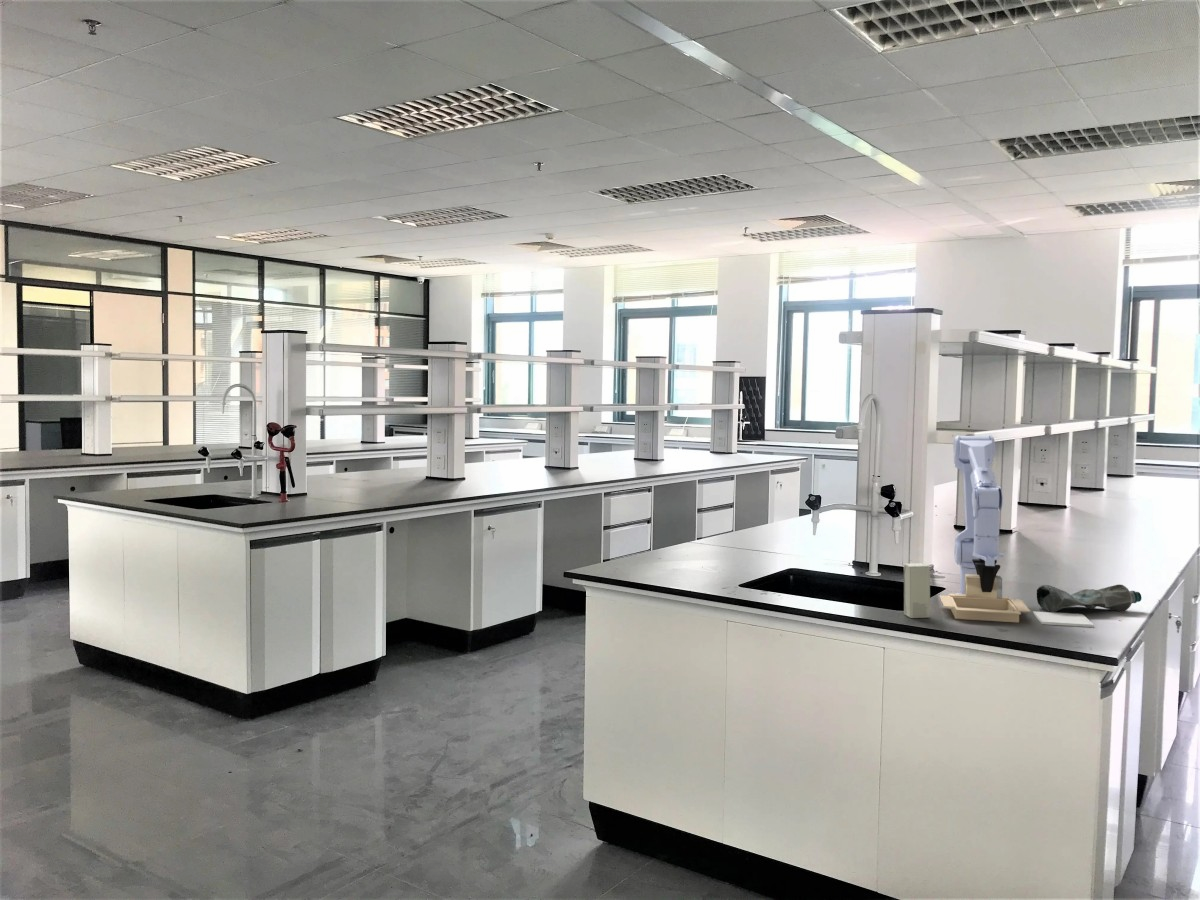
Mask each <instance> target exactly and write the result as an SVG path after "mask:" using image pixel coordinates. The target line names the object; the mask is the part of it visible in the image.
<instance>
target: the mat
mask: <svg viewBox="0 0 1200 900" xmlns="http://www.w3.org/2000/svg"><path fill="white" fill-rule="evenodd" d="M1032 612H1033V615H1034V616H1035V618H1036V619H1037V620H1038V622H1039V623H1040V624H1041V625H1048V626H1049V625H1050V626H1052V625H1053V626H1064V627H1065V626H1068V627H1080V628H1081V627H1084V628H1094V627H1095V625H1094V623H1093V622H1091V620H1089V619H1088V618H1087V617H1086V616H1085V615H1084V614H1083V613H1069V612H1049V611H1034V610H1033V611H1032Z"/></svg>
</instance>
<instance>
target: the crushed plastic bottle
mask: <svg viewBox="0 0 1200 900" xmlns="http://www.w3.org/2000/svg"><path fill="white" fill-rule="evenodd" d="M1036 600H1037V604H1038V605H1039V607H1041V608H1042V610H1044V612H1053V613H1056V612H1058V611H1060V610H1062V609H1064V608H1069V607H1070V608H1071V607H1075V606H1076V607H1077V606H1080V607H1081V606H1082V607H1085V608H1087V609H1095V608H1097V607H1098V608H1103V609H1107V610H1110V611H1118V612H1126V611H1127V610H1128V609H1130V607H1131V606H1132V604H1136V603H1137V602H1138V603H1139V602H1142V594H1141V593H1140V592H1139V591H1135V590H1129V588H1128V587H1126V585H1123V584H1120V583H1119V584H1114V585H1111V586H1107V587H1103V588H1100V589H1094V588H1093V589H1092V588H1091V589H1088V588H1087V589H1086V588H1085V589H1081V590H1079V591H1077V592H1074V593H1072V594H1070V593H1069V592H1067V591H1065V590H1063V589H1059V588H1057V587H1055V586H1054V585H1053V586H1052V585H1050V584H1043V585H1040V586H1038V588H1037V589H1036ZM1047 610H1048V611H1047Z"/></svg>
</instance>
